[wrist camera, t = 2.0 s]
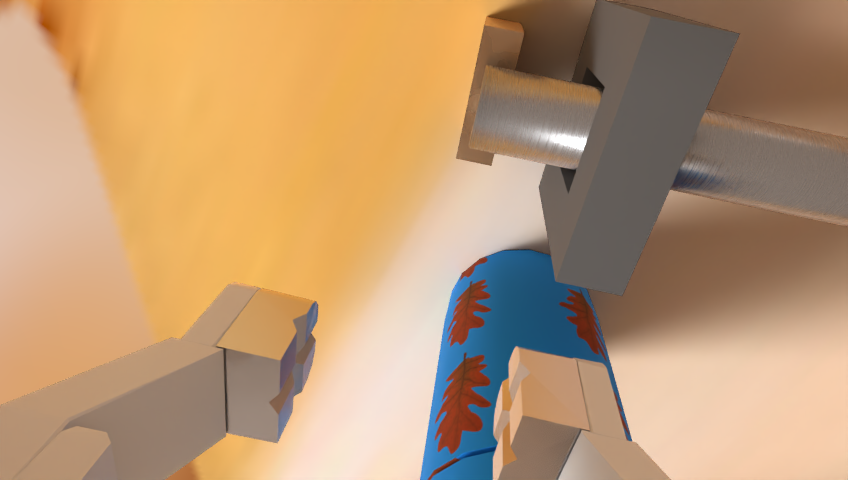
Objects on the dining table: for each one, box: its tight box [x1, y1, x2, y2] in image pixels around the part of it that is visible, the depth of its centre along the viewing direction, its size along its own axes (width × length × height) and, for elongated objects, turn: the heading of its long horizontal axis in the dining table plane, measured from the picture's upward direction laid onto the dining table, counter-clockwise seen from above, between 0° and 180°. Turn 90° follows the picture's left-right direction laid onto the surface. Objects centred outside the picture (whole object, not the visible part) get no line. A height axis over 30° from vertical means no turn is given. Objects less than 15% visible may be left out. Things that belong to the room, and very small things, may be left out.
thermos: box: [420, 250, 632, 480], centre depth 28 cm, size 11×11×25 cm
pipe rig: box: [456, 16, 848, 227], centre depth 26 cm, size 7×33×9 cm, turn 80°
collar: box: [539, 0, 739, 296], centre depth 25 cm, size 11×3×11 cm, turn 170°
